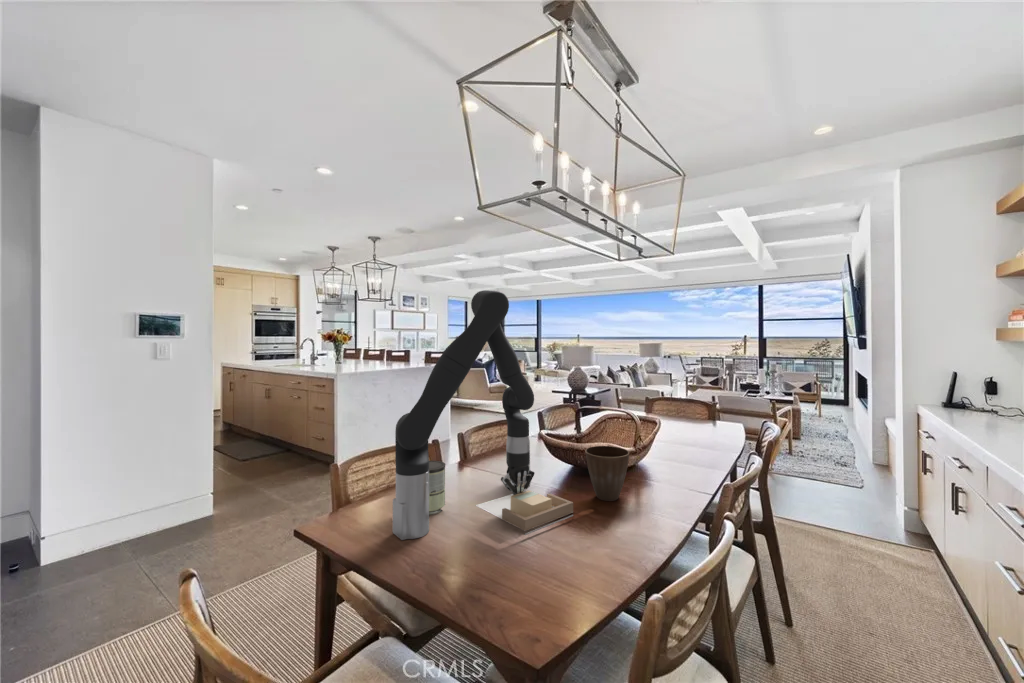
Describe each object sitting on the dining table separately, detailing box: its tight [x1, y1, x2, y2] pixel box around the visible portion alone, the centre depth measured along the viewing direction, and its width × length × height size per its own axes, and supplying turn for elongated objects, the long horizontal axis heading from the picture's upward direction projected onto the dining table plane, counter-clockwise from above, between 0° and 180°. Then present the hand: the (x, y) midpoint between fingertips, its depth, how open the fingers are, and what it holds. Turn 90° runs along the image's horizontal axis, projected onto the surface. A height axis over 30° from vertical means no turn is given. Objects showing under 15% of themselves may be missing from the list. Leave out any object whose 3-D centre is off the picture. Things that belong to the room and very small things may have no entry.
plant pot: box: [584, 445, 630, 502], centre depth 144 cm, size 15×15×16 cm
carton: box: [511, 490, 552, 518], centre depth 128 cm, size 8×10×5 cm
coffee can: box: [429, 460, 446, 516], centre depth 134 cm, size 10×10×14 cm
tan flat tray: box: [475, 493, 574, 536], centre depth 131 cm, size 20×24×4 cm
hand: (518, 503), depth 133 cm, fingers closed
